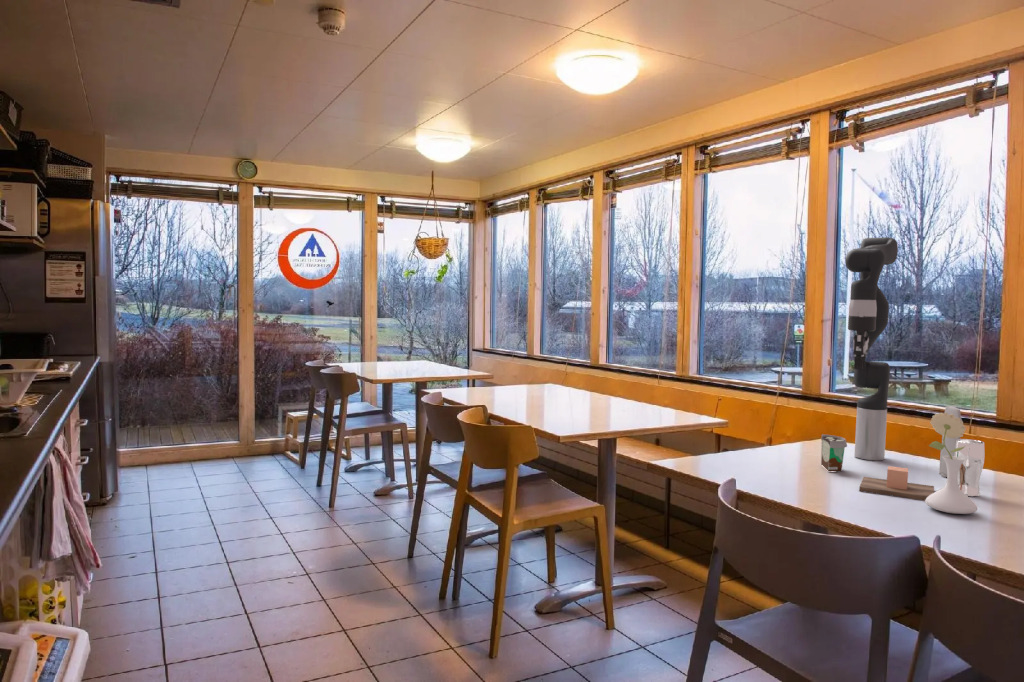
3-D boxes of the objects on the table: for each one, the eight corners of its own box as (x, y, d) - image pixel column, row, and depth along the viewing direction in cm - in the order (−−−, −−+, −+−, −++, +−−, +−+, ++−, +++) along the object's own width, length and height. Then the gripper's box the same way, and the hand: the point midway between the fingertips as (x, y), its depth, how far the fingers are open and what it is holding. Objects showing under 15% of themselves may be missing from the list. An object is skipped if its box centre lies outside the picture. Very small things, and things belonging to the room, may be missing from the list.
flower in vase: (988, 516, 175) (994, 417, 174) (952, 519, 172) (959, 418, 170) (942, 501, 187) (948, 409, 186) (908, 504, 184) (914, 410, 183)
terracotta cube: (887, 483, 201) (888, 466, 201) (907, 485, 199) (908, 468, 198) (886, 486, 197) (887, 469, 196) (906, 489, 194) (907, 472, 194)
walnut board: (863, 480, 208) (863, 476, 208) (933, 490, 199) (934, 486, 199) (859, 491, 196) (859, 486, 196) (933, 501, 187) (934, 497, 187)
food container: (850, 474, 216) (852, 442, 215) (829, 473, 217) (830, 441, 216) (840, 465, 228) (841, 435, 227) (820, 464, 229) (821, 434, 228)
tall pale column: (964, 481, 210) (969, 409, 209) (950, 480, 211) (954, 408, 210) (947, 472, 221) (951, 403, 220) (933, 472, 221) (937, 403, 220)
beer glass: (946, 491, 198) (949, 439, 197) (963, 489, 200) (966, 438, 200) (971, 498, 191) (974, 444, 190) (987, 496, 194) (991, 442, 193)
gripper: (850, 314, 219) (848, 366, 220) (846, 314, 207) (843, 369, 208) (877, 315, 215) (875, 367, 216) (874, 315, 203) (871, 371, 204)
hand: (859, 368), depth 212 cm, fingers open, 8 cm apart
